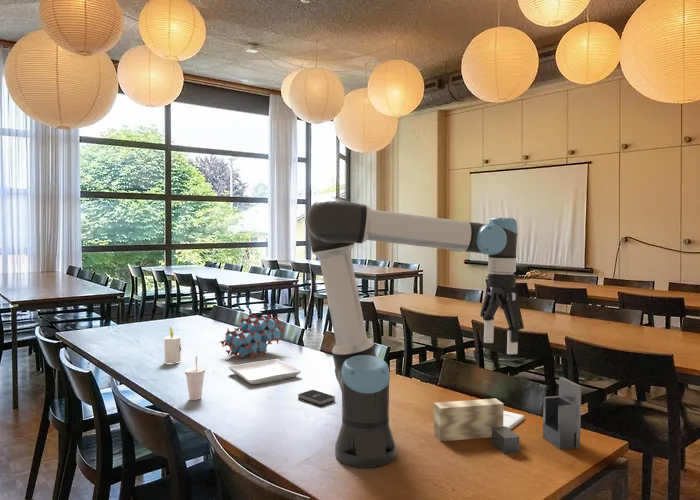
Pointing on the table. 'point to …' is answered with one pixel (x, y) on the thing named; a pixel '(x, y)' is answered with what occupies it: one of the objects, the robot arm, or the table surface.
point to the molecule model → (252, 336)
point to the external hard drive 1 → (316, 398)
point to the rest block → (505, 440)
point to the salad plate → (264, 371)
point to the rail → (467, 419)
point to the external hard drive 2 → (511, 419)
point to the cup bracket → (563, 416)
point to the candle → (172, 348)
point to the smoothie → (195, 381)
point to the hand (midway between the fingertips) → (499, 348)
